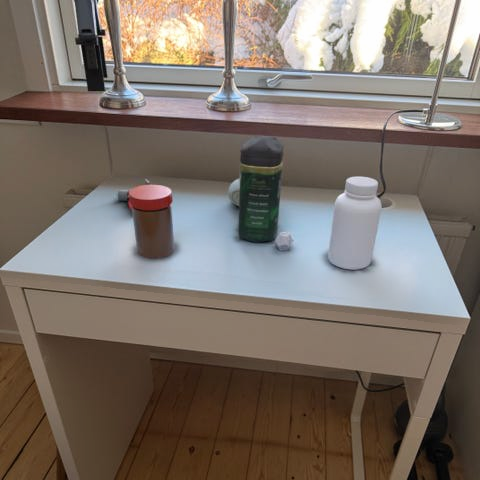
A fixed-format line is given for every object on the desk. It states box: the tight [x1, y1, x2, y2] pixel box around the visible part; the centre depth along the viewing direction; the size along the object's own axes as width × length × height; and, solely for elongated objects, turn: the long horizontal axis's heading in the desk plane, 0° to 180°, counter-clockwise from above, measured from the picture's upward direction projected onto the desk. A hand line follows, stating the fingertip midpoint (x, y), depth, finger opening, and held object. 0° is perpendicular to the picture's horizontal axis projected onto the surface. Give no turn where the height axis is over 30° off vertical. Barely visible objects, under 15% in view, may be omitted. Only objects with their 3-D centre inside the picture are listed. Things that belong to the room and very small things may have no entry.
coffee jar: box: [237, 135, 285, 243], centre depth 90 cm, size 10×8×19 cm
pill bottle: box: [327, 175, 383, 271], centre depth 82 cm, size 8×8×15 cm
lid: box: [129, 184, 173, 210], centre depth 82 cm, size 8×8×2 cm
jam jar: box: [131, 204, 175, 259], centre depth 85 cm, size 7×7×11 cm
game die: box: [274, 231, 294, 251], centre depth 89 cm, size 4×4×3 cm
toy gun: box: [115, 178, 151, 212], centre depth 104 cm, size 10×12×5 cm
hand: (98, 84), depth 81 cm, fingers open, 13 cm apart
